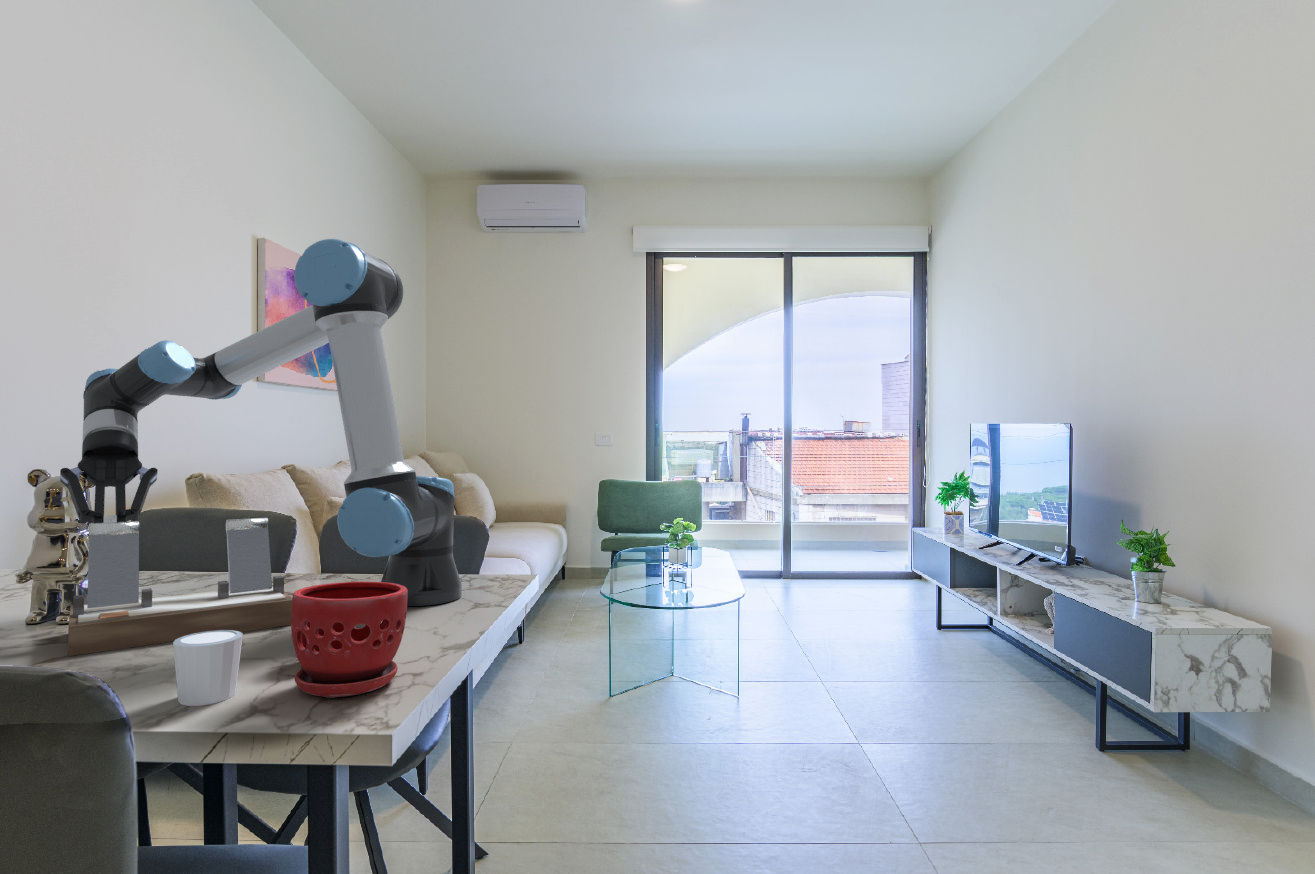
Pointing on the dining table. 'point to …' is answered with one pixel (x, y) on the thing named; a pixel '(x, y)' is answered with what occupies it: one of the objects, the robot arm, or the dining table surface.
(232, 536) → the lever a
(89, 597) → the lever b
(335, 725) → the dining table surface
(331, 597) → the plant pot
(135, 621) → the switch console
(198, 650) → the white cup
